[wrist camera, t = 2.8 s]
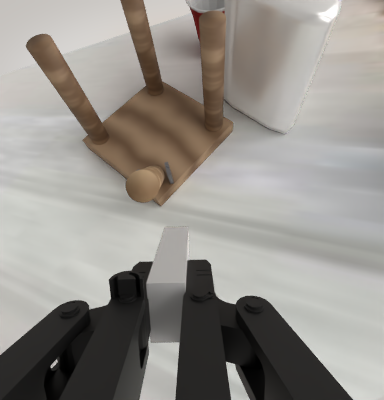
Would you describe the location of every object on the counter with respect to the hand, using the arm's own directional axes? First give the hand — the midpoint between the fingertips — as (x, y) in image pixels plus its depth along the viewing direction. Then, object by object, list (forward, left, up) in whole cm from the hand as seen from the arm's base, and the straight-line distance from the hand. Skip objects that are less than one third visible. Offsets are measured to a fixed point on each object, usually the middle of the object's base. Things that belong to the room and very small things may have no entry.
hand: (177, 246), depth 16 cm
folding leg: (+18, -2, -19) cm, 26 cm away
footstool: (+27, -7, -23) cm, 37 cm away
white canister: (+24, -31, -24) cm, 46 cm away
